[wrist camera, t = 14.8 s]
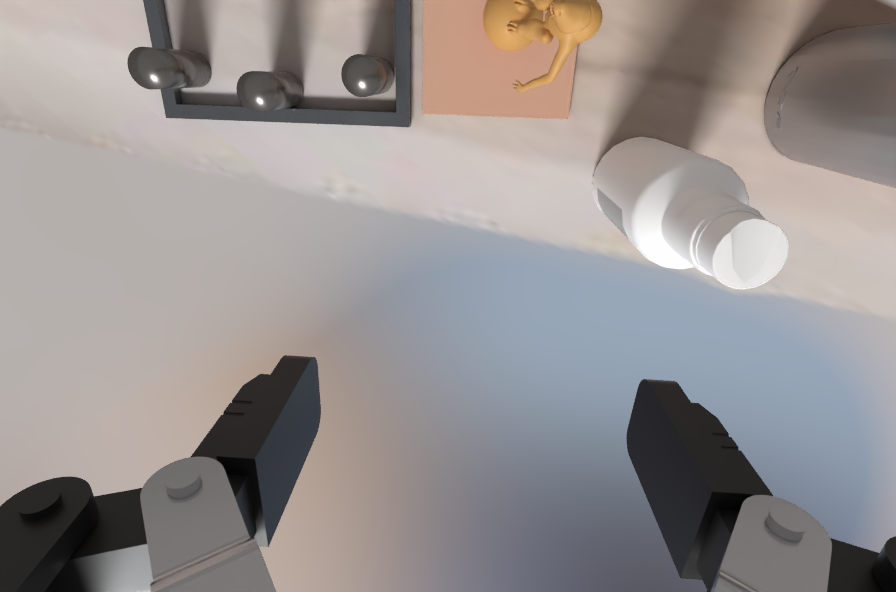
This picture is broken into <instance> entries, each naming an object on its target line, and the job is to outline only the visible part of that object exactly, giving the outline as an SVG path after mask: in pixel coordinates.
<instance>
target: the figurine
mask: <svg viewBox="0 0 896 592" xmlns="http://www.w3.org/2000/svg"><path fill="white" fill-rule="evenodd" d="M543 11H547V13H546V14H545V22H543ZM601 22H602V10H601V7H600V5H599V3H598V2H597V0H487V2H486V5H485V8H484V12H483V25H484V30H485V33H486V35H487V37H488V38H489V40H490V41H491V42H492V43H493V44H494V45H495V46H496V47H498V48H500V49H502V50H505V51H517V50H521V49H523V48H525V47H527V46H528V45H529V44H531V43H532V42H533V41H534V40H535V41H536V40H537V41H540V42H542V43H544V44H548V43H550V42H551V41H552V39H553V37H554V36H555V37H556V38H557V39H558V40H559V48H558V51H557V53H556V55H555V57H554V59H553V62H552V64H551V67H550V69H549V72H548V73H547V74H545V75H542V76H541V77H538V78H535V79H532V80H530V81H529V82H527V83H526V84H524V85H523V84H521V83H520V82H519V81H518V80H515V81H516V82H517V83H518V84H514V83H512V85H514V86H516V87H514V89H515V90H517V91H518V92H524V91H526V90H528V89H533V88H535V87H538V86H541V85H543V84H548V83H551V82H553V81H554V80H555V78H556V77H557V75H558V74H559V72H560V70H561V68H562V67H563V65H564V63H565V61H566V59H567V57H568V56H569V54H570V53H571V52H572V51H573V49H574V48H575V46H576V45H577V44H579V43H581V42H583V41H586V40H588V39H590V38H591V37H592V36H593V35H594V34H595V33H596V32H597V31H598V29H599V28H600V26H601Z"/></svg>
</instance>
